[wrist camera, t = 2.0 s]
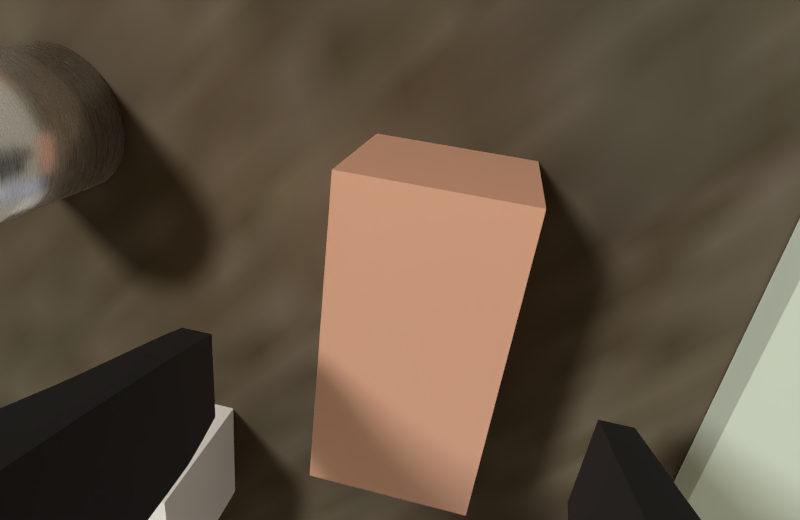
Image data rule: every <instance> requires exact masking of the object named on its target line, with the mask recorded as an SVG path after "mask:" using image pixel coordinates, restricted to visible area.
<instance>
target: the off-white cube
mask: <svg viewBox="0 0 800 520" xmlns="http://www.w3.org/2000/svg"><path fill="white" fill-rule="evenodd" d="M234 492H235V467H234V420H233V409H232V408H228V407H224V406H220V405H216V404H215V419H214V420H213V422H212V424H211V426H210V428H209V430H208V431H207V433H206V435H205V437H204V439H203V441H202V442H201V444H200V446H199V448H198V449H197V451H196V453H195V454H194V456H193V458H192V460H191V461H190V463H189V465H188V466H187V467H186V469H185V470H184V472H183V473H182V474H181V476H180V477H179V479H178V480H177V481H176V483H175V484H174V485H173V487H172V488H171V489H170V491H169V492H168V494H167V495H166V496H165V498H164V499H163V500H162V502H161V503H160V504H159V506H158V507H157V508H156V510H155V511H154V512H153V514H152V515H151V516H150V518H149V519H148V520H218V519H219V518H220V516H221V514H222V513H223V511H224V509H225V508H226V506H227V504H228V503H229V501H230V499H231V497H232V496H233V494H234Z"/></svg>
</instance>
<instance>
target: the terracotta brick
mask: <svg viewBox="0 0 800 520" xmlns="http://www.w3.org/2000/svg"><path fill="white" fill-rule="evenodd" d="M545 212H546V204H545V198H544V192H543V186H542V180H541V174H540V168H539V162H538V161H533V160H527V159H521V158H515V157H510V156H504V155H498V154H492V153H486V152H481V151H475V150H469V149H463V148H457V147H452V146H446V145H440V144H434V143H428V142H423V141H417V140H411V139H405V138H399V137H394V136H388V135H382V134H376V135H375V136H373V137H372V138H371V139H370V140H368V141H367V142H366V143H365V144H363V145H362V146H361V147H360V148H358V149H357V150H356V151H355V152H353V153H352V154H351V155H350V156H348V157H347V158H346V159H345V160H343V161H342V162H341V163H340V164H338V165H337V166H336V167H335V168H333V169H332V177H331V191H330V204H329V218H328V232H327V245H326V259H325V273H324V286H323V300H322V314H321V327H320V341H319V355H318V369H317V382H316V396H315V410H314V423H313V437H312V451H311V464H310V475H311V476H315V477H318V478H322V479H326V480H330V481H334V482H338V483H342V484H345V485H349V486H353V487H357V488H361V489H365V490H368V491H372V492H376V493H380V494H384V495H388V496H391V497H395V498H399V499H403V500H407V501H411V502H414V503H418V504H422V505H426V506H430V507H434V508H438V509H441V510H445V511H449V512H453V513H457V514H461V515H464V516H466V513H467V509H468V505H469V501H470V498H471V494H472V490H473V486H474V482H475V479H476V475H477V471H478V467H479V463H480V460H481V456H482V452H483V448H484V444H485V441H486V437H487V433H488V429H489V425H490V421H491V418H492V414H493V410H494V406H495V402H496V399H497V395H498V391H499V387H500V383H501V380H502V376H503V372H504V368H505V364H506V361H507V357H508V353H509V349H510V345H511V342H512V338H513V334H514V330H515V326H516V323H517V319H518V315H519V311H520V307H521V304H522V300H523V296H524V292H525V288H526V284H527V281H528V277H529V273H530V269H531V265H532V262H533V258H534V254H535V250H536V246H537V243H538V239H539V235H540V231H541V227H542V224H543V220H544V216H545Z"/></svg>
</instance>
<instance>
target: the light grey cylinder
mask: <svg viewBox="0 0 800 520" xmlns="http://www.w3.org/2000/svg"><path fill="white" fill-rule="evenodd" d="M124 149H125V128H124V122H123V118H122V114H121V110H120V108H119V105H118V103H117V100H116V98H115V96H114V94H113V92H112V91H111V89H110V87H109V86H108V84H107V83H106V81H105V80H104V79H103V77H102V76H101V75H100V74H99V72H98V71H97V70H96V69H95V68H94V67H93V66H92V65H91V64H90V63H88V62H87V61H86V60H85V59H84V58H82V57H81V56H80V55H78V54H77V53H75V52H73V51H72V50H70V49H68V48H66V47H63V46H61V45H58V44H55V43H50V42H42V41H32V42H5V43H0V223H2V222H5V221H7V220H10V219H12V218H15V217H17V216H20V215H22V214H25V213H28V212H30V211H33V210H35V209H38V208H40V207H43V206H46V205H48V204H51V203H53V202H56V201H58V200H61V199H64V198H66V197H69V196H71V195H74V194H76V193H79V192H82V191H84V190H87V189H89V188H92V187H94V186H97V185H100V184H101V183H103V182H105V181H107V180H108V179H109V178H110V177H111V176H112V175H113V174H114V173H115V172H116V170H117V168H118V167H119V165H120V163H121V160H122V158H123V154H124Z"/></svg>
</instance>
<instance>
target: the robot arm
mask: <svg viewBox="0 0 800 520" xmlns="http://www.w3.org/2000/svg"><path fill="white" fill-rule="evenodd" d="M214 419H215V399H214V378H213V356H212V335H211V334H208V333H203V332H199V331H194V330H190V329H185V328H180V329H178V330H175V331H173V332H170V333H168V334H166V335H163V336H161V337H159V338H157V339H155V340H152V341H150V342H148V343H146V344H144V345H142V346H139V347H137V348H135V349H133V350H131V351H129V352H127V353H125V354H122V355H120V356H118V357H116V358H114V359H112V360H110V361H107V362H105V363H103V364H101V365H99V366H97V367H94V368H92V369H90V370H88V371H86V372H84V373H81V374H79V375H77V376H75V377H73V378H71V379H68V380H66V381H64V382H62V383H59V384H57V385H54V386H52V387H50V388H47V389H45V390H43V391H40V392H38V393H36V394H33V395H31V396H28V397H26V398H24V399H21V400H19V401H17V402H14V403H12V404H10V405H7V406H5V407H2V408H0V520H148V519H149V518H150V516H151V515H152V514H153V512H154V511H155V510H156V508H157V507H158V506H159V504H160V503H161V502H162V500H163V499H164V498H165V496H166V495H167V494H168V492H169V491H170V489H171V488H172V487H173V485H174V484H175V483H176V481H177V480H178V479H179V477H180V476H181V474H182V473H183V472H184V470H185V469H186V467H187V466H188V465H189V463H190V461H191V460H192V458H193V456H194V454H195V453H196V451H197V449H198V448H199V446H200V444H201V442H202V441H203V439H204V437H205V435H206V433H207V431H208V430H209V428H210V426H211V424H212V422H213V420H214ZM568 520H701V519H700V517H699V516H698V515H697V513H696V512H695V511H694V509H693V508H692V507H691V505H690V504H689V502H688V501H687V500H686V498H685V497H684V496H683V494H682V493H681V492H680V490H679V489H678V487H677V486H676V485H675V483H674V482H673V480H672V479H671V478H670V476H669V475H668V474H667V472H666V471H665V469H664V468H663V467H662V465H661V464H660V462H659V461H658V459H657V458H656V457H655V455H654V454H653V452H652V451H651V450H650V448H649V447H648V445H647V444H646V443H645V441H644V440H643V439H642V437H641V436H640V434H639V433H638V432H637V430H636V429H635V428H633V427H628V426H624V425H619V424H615V423H610V422H605V421H601V420H598V422H597V425H596V427H595V430H594V433H593V436H592V438H591V441H590V444H589V446H588V449H587V452H586V455H585V457H584V460H583V463H582V465H581V468H580V471H579V474H578V476H577V479H576V482H575V484H574V487H573V490H572V493H571V495H570V498H569V501H568Z"/></svg>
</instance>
